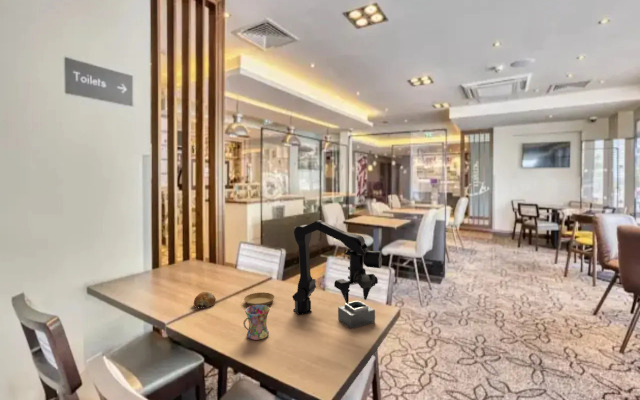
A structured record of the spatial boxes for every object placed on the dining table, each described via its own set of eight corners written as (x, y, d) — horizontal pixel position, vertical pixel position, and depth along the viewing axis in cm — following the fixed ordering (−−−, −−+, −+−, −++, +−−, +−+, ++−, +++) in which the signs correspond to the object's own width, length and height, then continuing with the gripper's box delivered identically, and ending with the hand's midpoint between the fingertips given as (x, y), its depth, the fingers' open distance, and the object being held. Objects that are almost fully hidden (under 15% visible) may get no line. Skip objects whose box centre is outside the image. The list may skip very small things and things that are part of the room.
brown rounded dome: (217, 311, 159) (222, 294, 162) (203, 309, 150) (208, 291, 153) (202, 307, 163) (206, 291, 166) (187, 306, 155) (192, 288, 157)
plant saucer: (250, 296, 169) (250, 291, 169) (278, 297, 167) (278, 292, 166) (239, 307, 154) (239, 302, 154) (269, 309, 152) (269, 304, 152)
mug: (257, 328, 133) (256, 302, 133) (274, 333, 129) (274, 307, 128) (235, 341, 123) (234, 313, 122) (253, 347, 118) (253, 319, 118)
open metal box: (351, 329, 132) (351, 312, 132) (338, 319, 141) (338, 303, 140) (374, 322, 138) (374, 306, 137) (361, 313, 147) (361, 298, 146)
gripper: (348, 273, 126) (348, 313, 127) (386, 267, 135) (385, 304, 136) (333, 266, 136) (333, 303, 137) (370, 261, 145) (369, 295, 146)
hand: (356, 301), depth 139 cm, fingers open, 9 cm apart
